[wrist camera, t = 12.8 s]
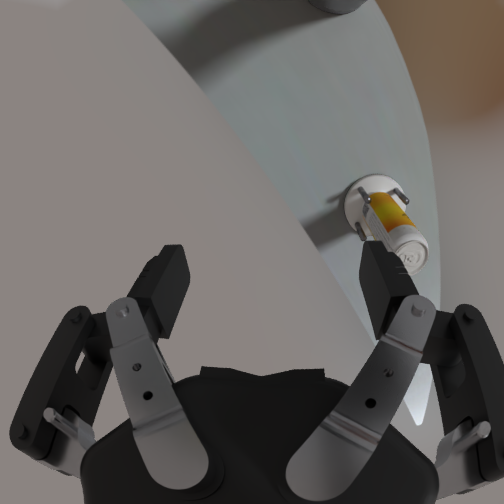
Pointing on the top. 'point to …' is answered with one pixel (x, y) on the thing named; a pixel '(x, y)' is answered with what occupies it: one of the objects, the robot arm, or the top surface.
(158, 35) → the top surface
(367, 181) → the pin tray
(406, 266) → the beer can
